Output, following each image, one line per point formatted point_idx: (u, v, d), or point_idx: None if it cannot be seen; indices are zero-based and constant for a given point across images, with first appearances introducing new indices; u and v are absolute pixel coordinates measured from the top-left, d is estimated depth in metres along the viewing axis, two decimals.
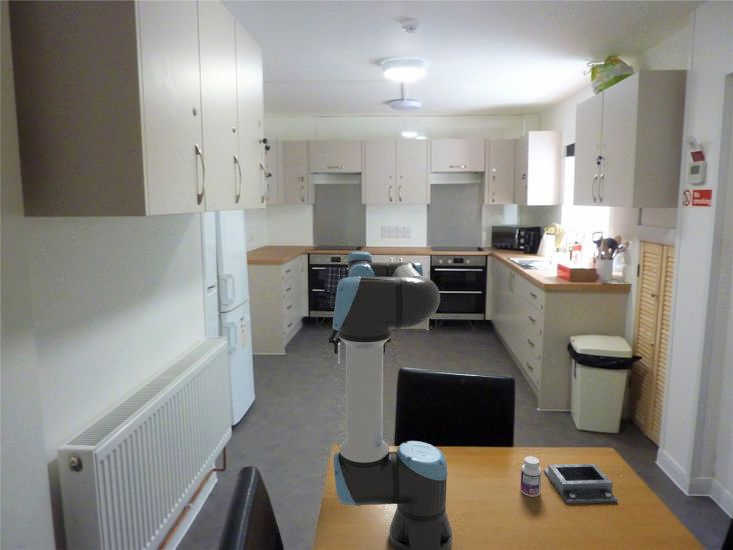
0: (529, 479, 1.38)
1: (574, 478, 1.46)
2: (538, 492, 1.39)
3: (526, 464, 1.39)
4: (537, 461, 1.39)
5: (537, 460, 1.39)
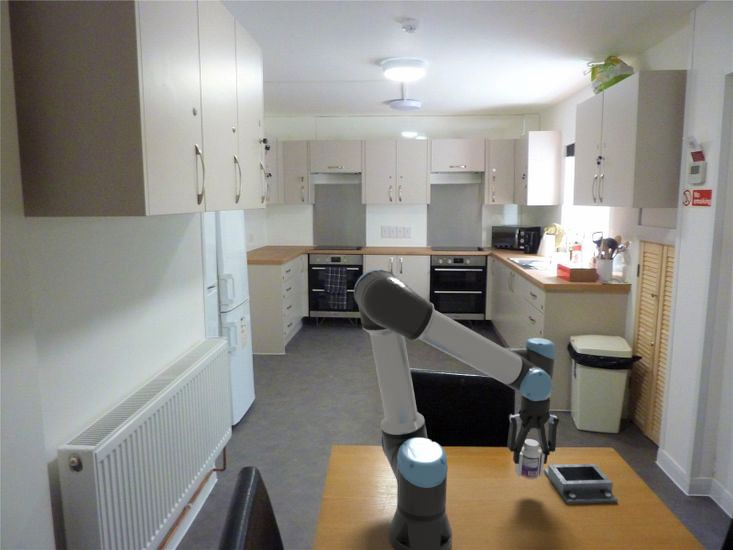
0: (529, 461, 1.37)
1: (574, 478, 1.46)
2: (537, 475, 1.38)
3: (525, 446, 1.38)
4: (537, 444, 1.38)
5: (537, 443, 1.38)
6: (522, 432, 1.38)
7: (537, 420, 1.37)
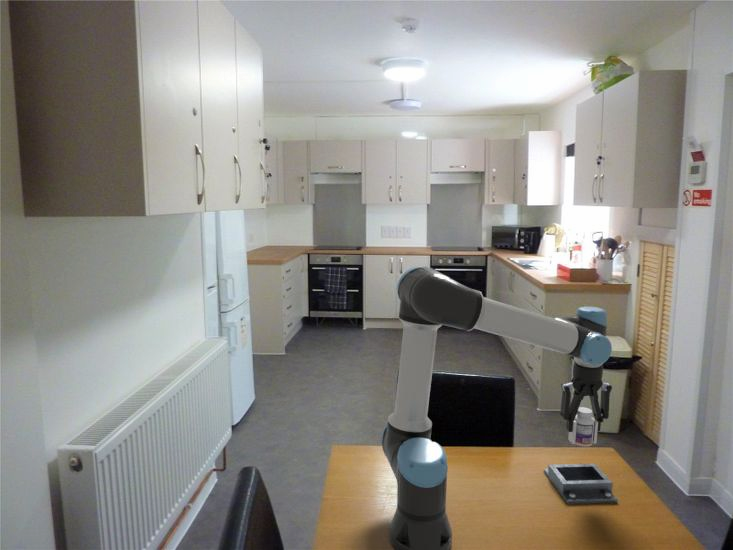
0: (583, 428, 1.39)
1: (574, 478, 1.46)
2: (591, 442, 1.40)
3: (579, 414, 1.39)
4: (590, 411, 1.39)
5: (590, 410, 1.40)
6: (575, 400, 1.39)
7: (590, 388, 1.38)
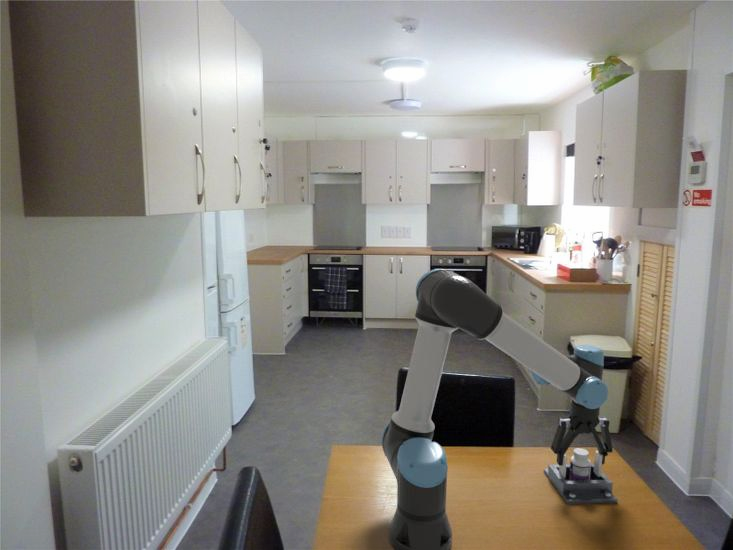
0: (580, 470, 1.41)
1: None
2: None
3: (576, 456, 1.42)
4: (586, 452, 1.41)
5: (586, 451, 1.42)
6: (569, 436, 1.41)
7: (587, 426, 1.40)
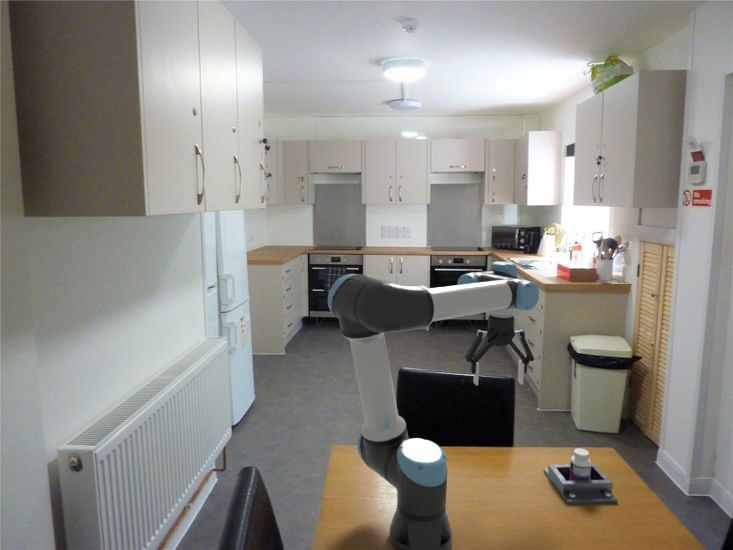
0: (580, 470, 1.40)
1: None
2: None
3: (576, 456, 1.41)
4: (587, 453, 1.41)
5: (587, 452, 1.42)
6: (485, 346, 1.48)
7: (504, 338, 1.47)
